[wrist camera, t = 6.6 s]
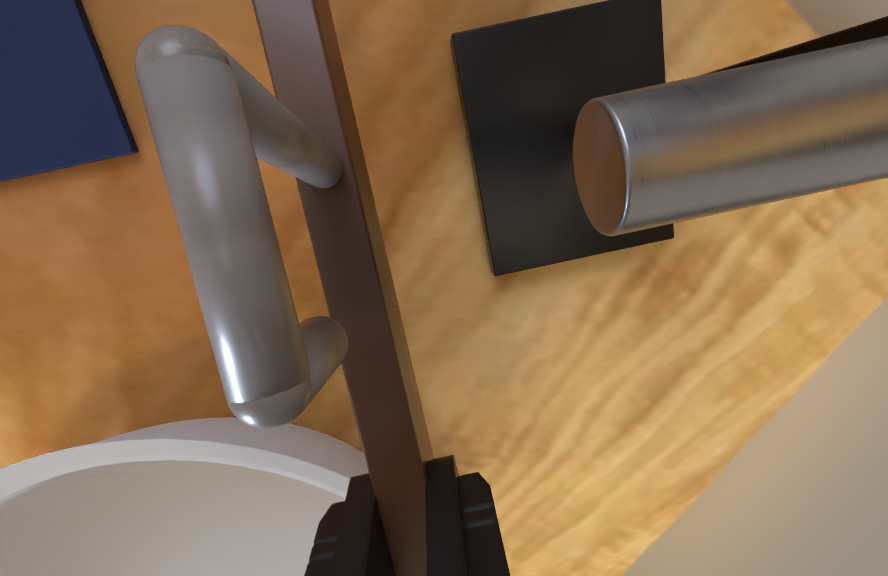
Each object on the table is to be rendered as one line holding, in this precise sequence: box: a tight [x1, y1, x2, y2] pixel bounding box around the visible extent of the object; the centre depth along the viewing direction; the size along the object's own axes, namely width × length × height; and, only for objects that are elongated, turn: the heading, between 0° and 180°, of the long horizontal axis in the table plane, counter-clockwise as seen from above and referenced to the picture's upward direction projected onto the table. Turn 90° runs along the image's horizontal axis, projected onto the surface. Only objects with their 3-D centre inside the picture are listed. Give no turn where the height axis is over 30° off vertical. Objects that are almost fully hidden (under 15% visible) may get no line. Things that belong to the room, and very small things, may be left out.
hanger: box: [135, 0, 434, 576], centre depth 8 cm, size 17×1×8 cm, turn 12°
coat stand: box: [450, 0, 888, 276], centre depth 13 cm, size 12×10×21 cm
